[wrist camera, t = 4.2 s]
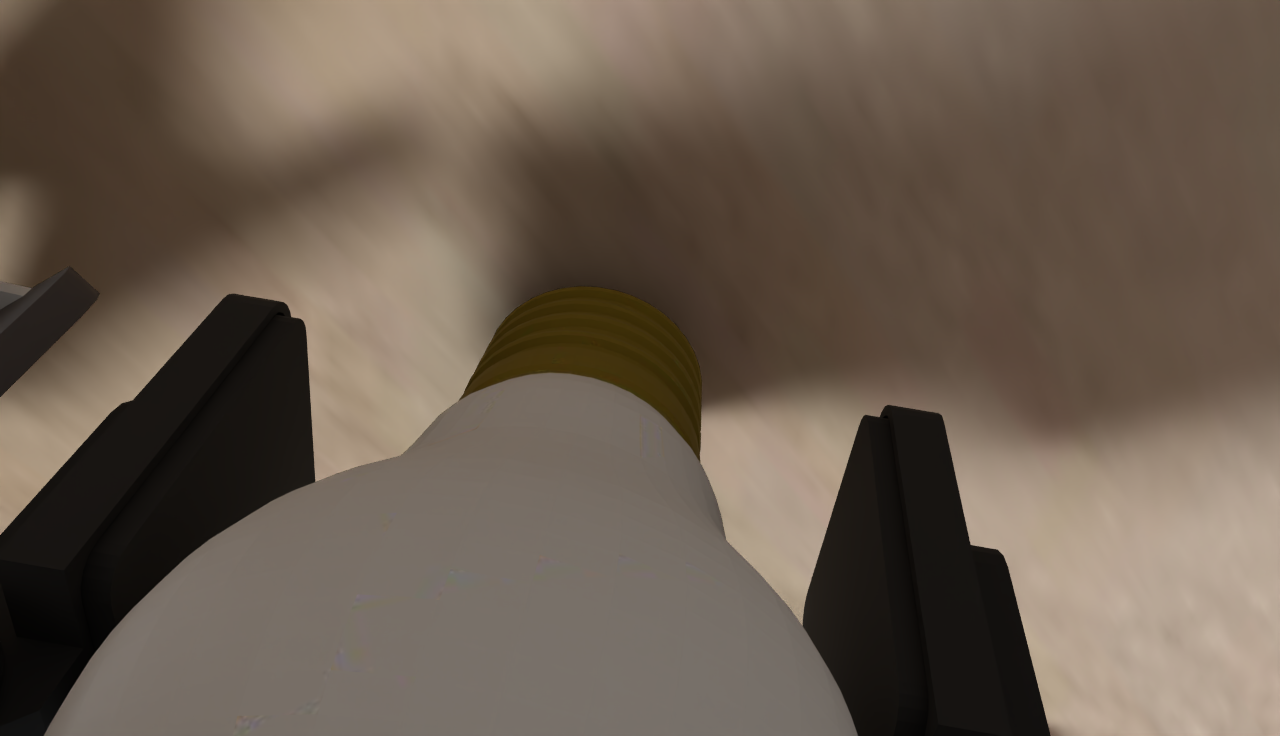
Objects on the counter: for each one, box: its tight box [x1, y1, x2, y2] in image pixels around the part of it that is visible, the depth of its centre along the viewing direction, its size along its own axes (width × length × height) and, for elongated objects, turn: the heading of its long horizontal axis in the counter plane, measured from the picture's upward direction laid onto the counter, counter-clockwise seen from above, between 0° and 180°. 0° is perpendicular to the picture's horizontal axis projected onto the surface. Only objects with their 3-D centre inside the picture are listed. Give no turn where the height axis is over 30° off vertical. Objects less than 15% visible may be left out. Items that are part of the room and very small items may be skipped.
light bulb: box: [44, 286, 858, 736], centre depth 9 cm, size 6×6×10 cm
